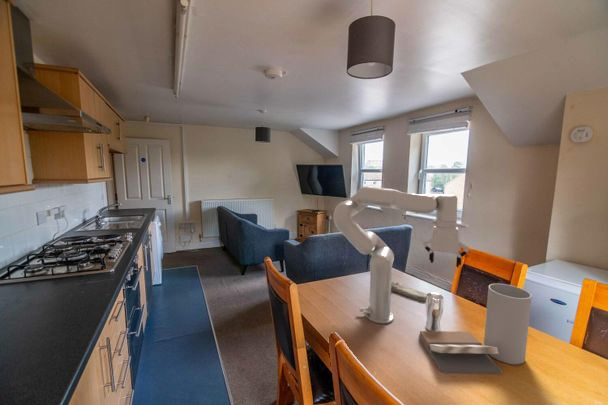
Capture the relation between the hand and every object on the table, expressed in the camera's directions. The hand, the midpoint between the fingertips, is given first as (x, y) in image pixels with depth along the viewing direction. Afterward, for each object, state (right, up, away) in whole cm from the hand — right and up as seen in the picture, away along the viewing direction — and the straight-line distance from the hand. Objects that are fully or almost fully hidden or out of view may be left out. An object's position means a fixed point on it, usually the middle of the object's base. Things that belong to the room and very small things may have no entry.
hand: (444, 264), depth 112 cm
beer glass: (-3, -30, +5) cm, 30 cm away
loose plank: (-2, -28, -17) cm, 32 cm away
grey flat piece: (-2, -31, -12) cm, 33 cm away
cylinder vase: (+16, -31, -12) cm, 37 cm away
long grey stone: (-4, -26, +41) cm, 49 cm away
